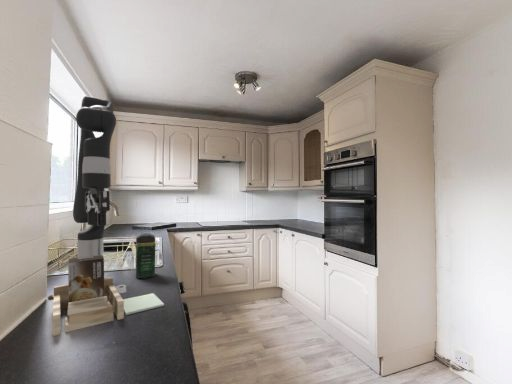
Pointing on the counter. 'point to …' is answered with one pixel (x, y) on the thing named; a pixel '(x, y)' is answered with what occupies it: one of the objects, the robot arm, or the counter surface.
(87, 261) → the coffee box
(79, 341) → the counter surface
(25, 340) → the counter surface
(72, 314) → the offcut stack
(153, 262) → the coffee jar
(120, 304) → the pine rack
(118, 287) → the kitchen cleaver
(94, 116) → the robot arm
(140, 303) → the sage mat
